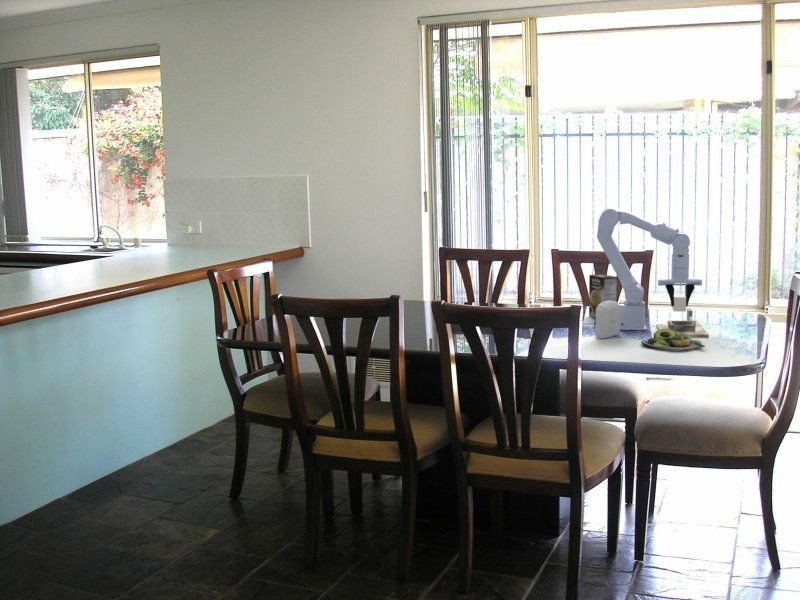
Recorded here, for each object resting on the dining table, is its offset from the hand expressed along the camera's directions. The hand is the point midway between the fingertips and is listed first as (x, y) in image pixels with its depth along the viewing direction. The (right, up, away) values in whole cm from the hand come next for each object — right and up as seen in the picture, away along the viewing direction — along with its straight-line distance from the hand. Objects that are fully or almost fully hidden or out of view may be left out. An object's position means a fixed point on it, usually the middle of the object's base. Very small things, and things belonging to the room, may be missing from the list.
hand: (679, 306), depth 304 cm
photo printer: (-27, -11, -7) cm, 30 cm away
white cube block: (0, -2, +1) cm, 2 cm away
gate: (+7, -6, +7) cm, 12 cm away
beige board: (+1, -8, +3) cm, 9 cm away
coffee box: (-20, -5, +29) cm, 36 cm away
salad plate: (-10, -13, -23) cm, 29 cm away
